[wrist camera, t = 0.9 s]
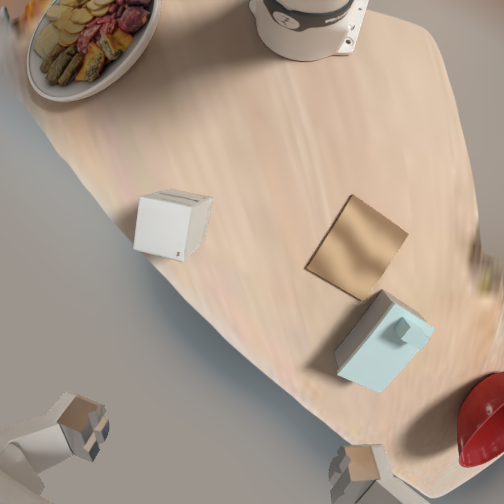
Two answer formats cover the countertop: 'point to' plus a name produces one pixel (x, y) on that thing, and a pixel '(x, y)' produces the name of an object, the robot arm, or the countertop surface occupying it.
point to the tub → (367, 325)
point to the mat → (357, 249)
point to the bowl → (88, 45)
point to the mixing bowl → (482, 422)
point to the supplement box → (171, 223)
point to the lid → (386, 349)
